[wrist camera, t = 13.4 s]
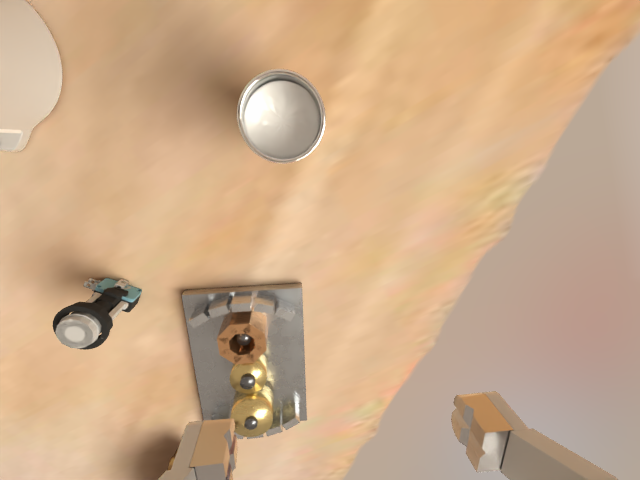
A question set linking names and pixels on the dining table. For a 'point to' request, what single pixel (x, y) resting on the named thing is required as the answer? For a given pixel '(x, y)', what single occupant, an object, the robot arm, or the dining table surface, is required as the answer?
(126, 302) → the push button
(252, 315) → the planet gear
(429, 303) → the dining table surface
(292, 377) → the carrier
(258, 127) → the beer glass
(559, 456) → the robot arm
